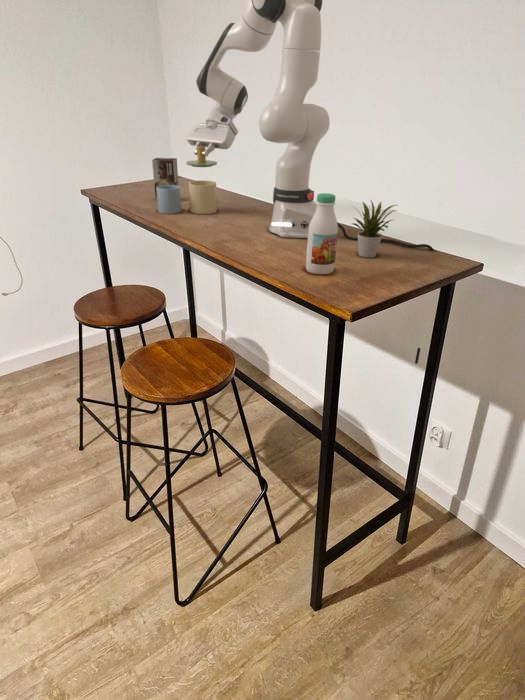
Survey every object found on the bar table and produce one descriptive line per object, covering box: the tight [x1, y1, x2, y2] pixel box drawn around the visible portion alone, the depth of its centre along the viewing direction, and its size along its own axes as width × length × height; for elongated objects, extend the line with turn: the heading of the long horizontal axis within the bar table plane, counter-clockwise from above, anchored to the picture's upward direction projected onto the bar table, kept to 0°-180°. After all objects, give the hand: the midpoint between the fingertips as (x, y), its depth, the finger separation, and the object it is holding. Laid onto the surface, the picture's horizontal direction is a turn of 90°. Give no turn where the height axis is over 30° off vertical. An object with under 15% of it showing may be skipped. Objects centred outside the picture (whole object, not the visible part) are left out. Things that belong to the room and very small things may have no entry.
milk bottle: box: [305, 192, 339, 275], centre depth 124 cm, size 8×8×20 cm
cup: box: [156, 185, 182, 215], centre depth 182 cm, size 9×9×9 cm
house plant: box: [351, 199, 398, 259], centre depth 138 cm, size 14×14×16 cm
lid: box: [185, 146, 218, 168], centre depth 176 cm, size 11×11×7 cm
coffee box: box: [151, 157, 180, 201], centre depth 199 cm, size 9×6×16 cm
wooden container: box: [188, 180, 218, 215], centre depth 184 cm, size 10×10×10 cm
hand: (200, 154), depth 176 cm, fingers closed on lid, 3 cm apart
